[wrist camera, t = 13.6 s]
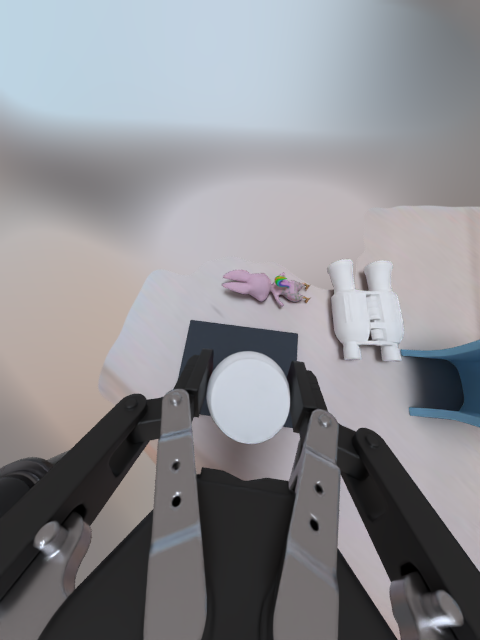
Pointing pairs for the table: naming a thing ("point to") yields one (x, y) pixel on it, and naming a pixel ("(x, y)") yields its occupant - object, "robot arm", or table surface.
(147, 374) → the table surface
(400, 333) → the binoculars
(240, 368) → the pill bottle
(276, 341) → the mat
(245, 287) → the pink figurine
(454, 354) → the vase
